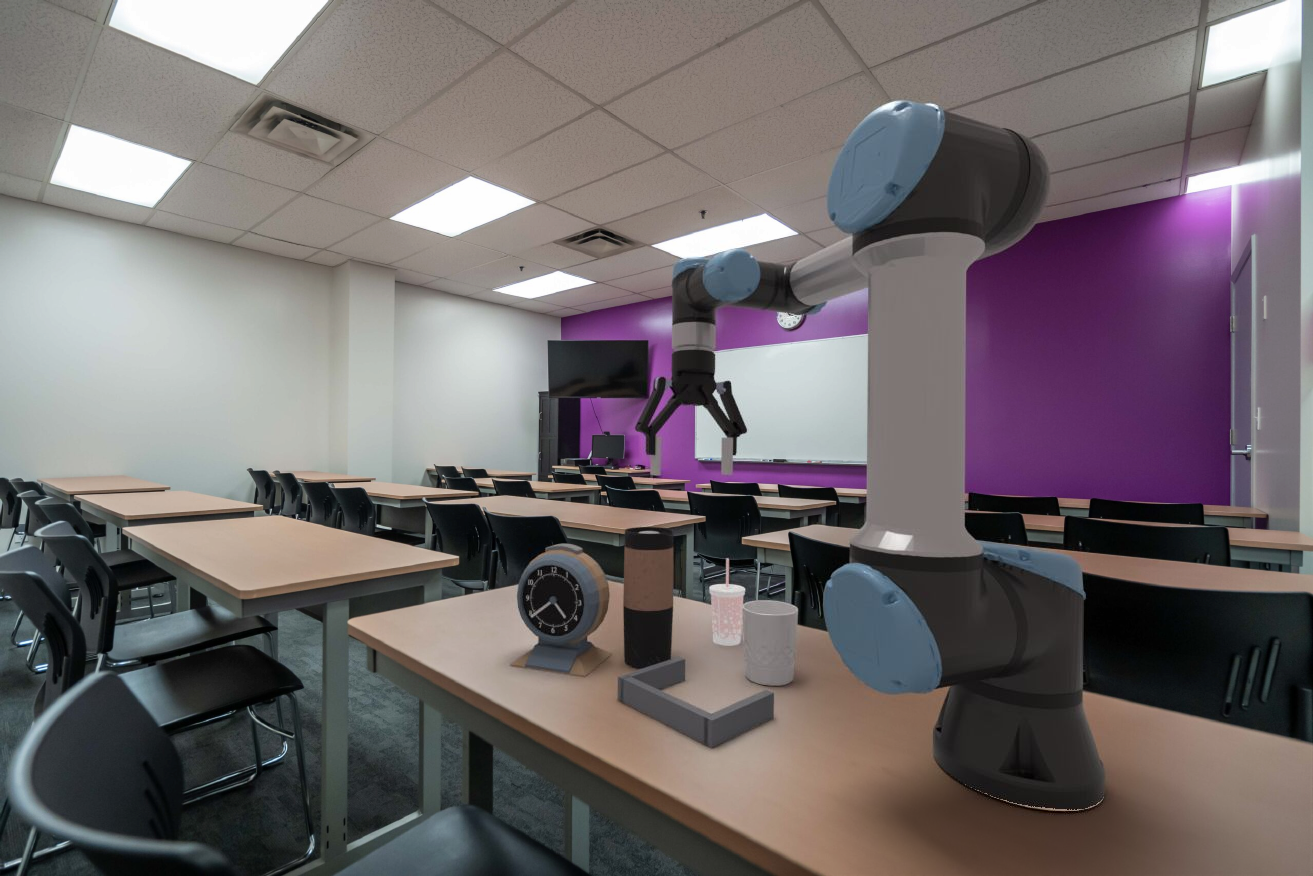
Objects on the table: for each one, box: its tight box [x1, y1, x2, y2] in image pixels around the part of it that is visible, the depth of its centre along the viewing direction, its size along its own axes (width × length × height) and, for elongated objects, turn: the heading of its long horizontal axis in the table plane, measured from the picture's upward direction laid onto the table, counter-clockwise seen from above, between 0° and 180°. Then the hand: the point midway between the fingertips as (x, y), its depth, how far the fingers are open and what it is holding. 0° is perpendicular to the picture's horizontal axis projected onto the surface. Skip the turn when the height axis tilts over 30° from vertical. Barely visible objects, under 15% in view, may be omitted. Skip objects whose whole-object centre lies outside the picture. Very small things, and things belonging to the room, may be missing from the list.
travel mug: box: [622, 526, 675, 670], centre depth 91 cm, size 8×8×20 cm
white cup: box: [742, 599, 799, 687], centre depth 85 cm, size 8×8×10 cm
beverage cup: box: [708, 557, 746, 647], centre depth 101 cm, size 6×6×14 cm
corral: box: [617, 656, 775, 749], centre depth 75 cm, size 11×16×3 cm
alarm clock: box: [509, 543, 613, 678], centre depth 91 cm, size 14×10×18 cm
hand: (692, 475), depth 102 cm, fingers open, 13 cm apart
